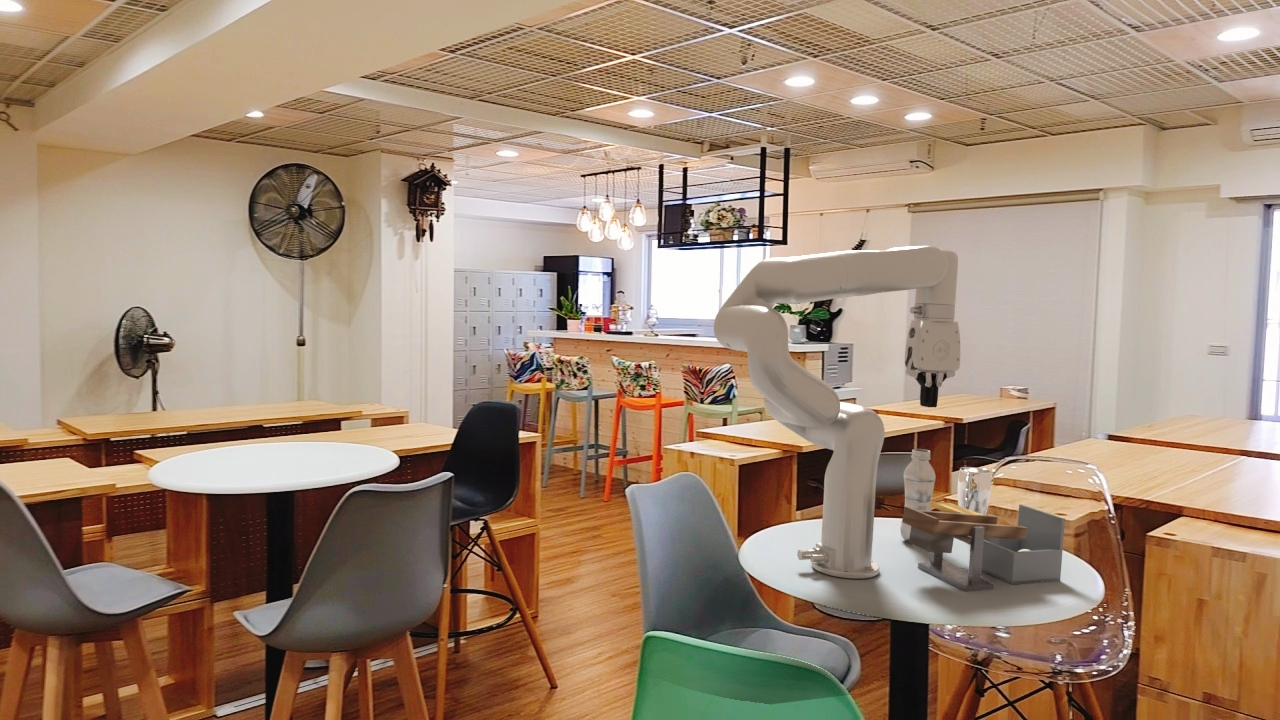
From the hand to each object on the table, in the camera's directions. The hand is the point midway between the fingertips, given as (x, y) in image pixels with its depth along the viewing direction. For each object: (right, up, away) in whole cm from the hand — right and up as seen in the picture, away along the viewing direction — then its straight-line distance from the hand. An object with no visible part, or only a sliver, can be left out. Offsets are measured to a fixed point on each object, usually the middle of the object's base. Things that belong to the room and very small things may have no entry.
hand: (928, 406), depth 173 cm
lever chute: (+2, -26, -4) cm, 26 cm away
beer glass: (+17, -30, +23) cm, 42 cm away
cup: (+16, -32, -4) cm, 36 cm away
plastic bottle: (+3, -30, +16) cm, 34 cm away
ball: (+18, -30, -3) cm, 35 cm away
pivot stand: (+2, -32, -8) cm, 33 cm away
